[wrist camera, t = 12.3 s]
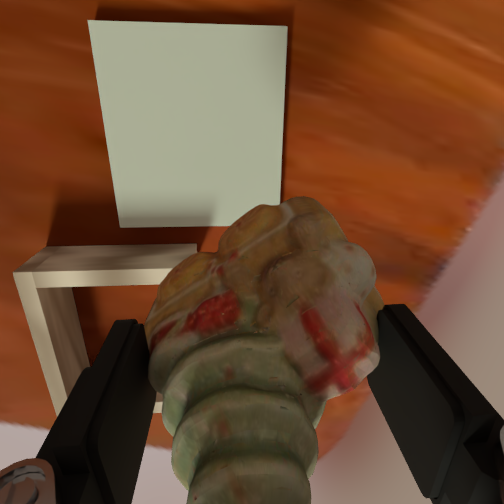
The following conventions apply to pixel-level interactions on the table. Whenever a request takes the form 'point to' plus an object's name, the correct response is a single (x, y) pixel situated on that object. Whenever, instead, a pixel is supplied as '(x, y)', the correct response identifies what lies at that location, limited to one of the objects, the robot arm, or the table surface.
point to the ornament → (261, 351)
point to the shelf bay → (63, 304)
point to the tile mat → (191, 118)
